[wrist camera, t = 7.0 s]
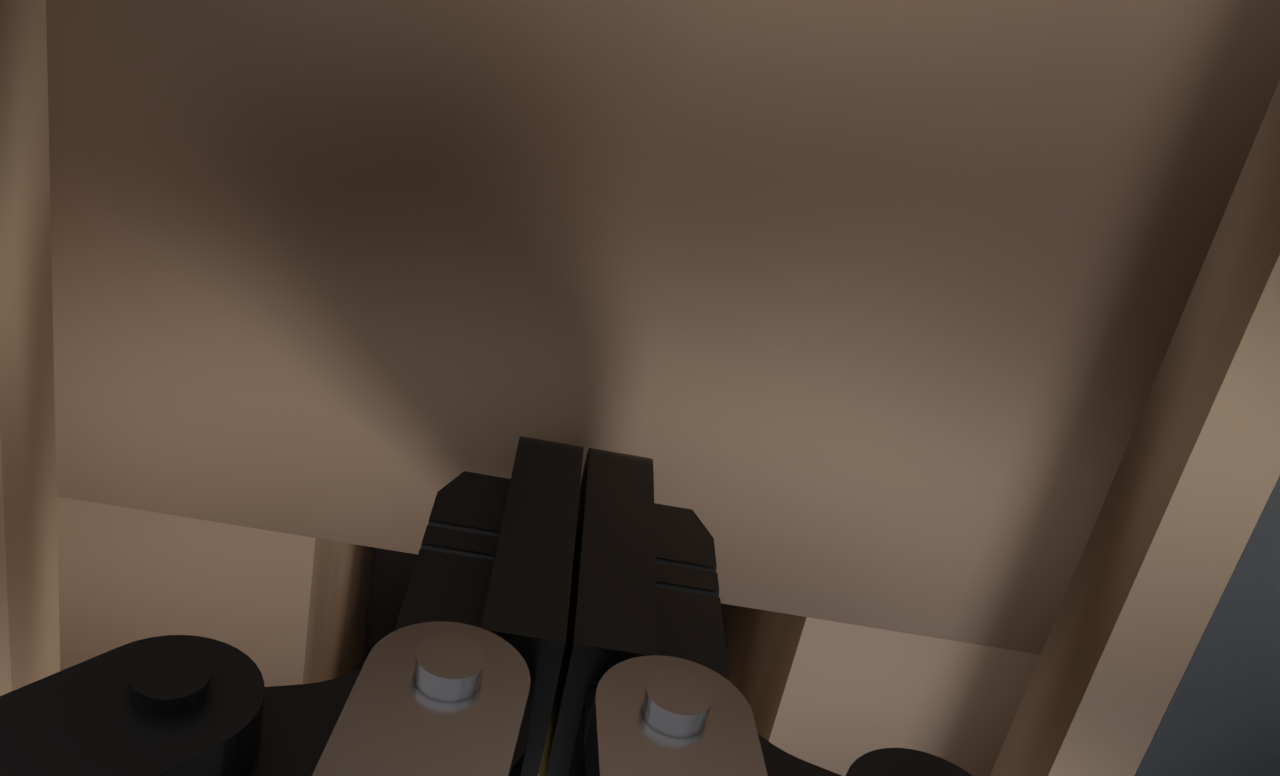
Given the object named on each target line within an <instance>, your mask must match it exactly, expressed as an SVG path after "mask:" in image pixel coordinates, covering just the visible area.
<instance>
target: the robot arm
mask: <svg viewBox="0 0 1280 776" xmlns="http://www.w3.org/2000/svg"><path fill="white" fill-rule="evenodd" d="M583 450H584V447H581V446H575V445H570V444H564V443H558V442H552V441H547V440H541V439H535V438H529V437H523V436H520V437H519V442H518V447H517V452H516V457H515V461H514V466H513V471H512V476H511V479H508V478H502V477H496V476H490V475H484V474H479V473H473V472H467V471H464V472H462V473H461V474H460V475H459V476H457V477H456V478H455V479H453V480H452V481H451V482H450V483H448V484H447V485H446V486H445V487H443V488H442V489H441V490H439V491H438V492H437V495H436V498H435V502H434V505H433V508H432V511H431V514H430V518H429V522H428V525H427V527H426V530H425V533H424V537H423V540H422V543H421V549H419V553H418V556H417V559H416V562H415V565H414V569H413V572H412V575H411V578H410V581H409V585H408V588H407V591H406V594H405V597H404V600H403V604H402V607H401V610H400V613H399V616H398V620H397V623H396V626H395V629H394V632H392V633H390V634H388V635H387V636H385V637H384V638H382V639H381V640H380V641H379V642H378V643H377V644H376V645H375V646H374V647H373V648H372V650H371V651H370V653H369V655H368V656H367V658H366V660H365V663H364V665H363V667H362V668H360V669H358V670H356V671H354V672H352V673H350V674H347V675H345V676H342V677H339V678H336V679H332V680H327V681H323V682H317V683H309V684H299V685H286V686H272V687H264V680H263V676H262V673H261V671H260V670H259V668H258V667H257V665H256V664H255V662H254V661H253V660H252V659H251V658H250V657H249V656H248V655H246V654H245V653H243V652H242V651H240V650H239V649H237V648H235V647H233V646H231V645H229V644H227V643H224V642H221V641H218V640H215V639H211V638H206V637H200V636H191V635H165V636H157V637H150V638H146V639H142V640H137V641H134V642H131V643H128V644H125V645H123V646H120V647H117V648H115V649H113V650H110V651H108V652H105V653H103V654H101V655H98V656H96V657H93V658H91V659H88V660H86V661H84V662H81V663H79V664H76V665H74V666H72V667H69V668H67V669H64V670H62V671H60V672H57V673H55V674H52V675H50V676H48V677H45V678H43V679H40V680H38V681H35V682H33V683H31V684H28V685H26V686H23V687H21V688H19V689H16V690H14V691H11V692H9V693H7V694H4V695H2V696H0V776H538V774H539V776H841V775H839V774H836V773H834V772H831V771H829V770H826V769H824V768H821V767H819V766H816V765H814V764H811V763H809V762H806V761H804V760H802V759H799V758H797V757H795V756H793V755H791V754H788V753H787V752H785V751H783V750H781V749H780V748H778V747H776V746H775V745H773V744H772V743H770V742H769V741H768V740H766V739H765V738H763V737H762V736H761V735H760V734H759V733H758V732H757V728H756V724H755V720H754V716H753V713H752V710H751V707H750V705H749V703H748V702H747V700H746V698H745V697H744V696H743V694H742V693H741V692H740V691H739V690H738V689H737V688H736V687H735V686H734V685H733V684H732V683H731V682H730V681H729V674H728V665H727V656H726V647H725V637H724V628H723V619H722V610H721V601H720V597H719V582H718V573H716V569H717V564H716V555H715V546H714V538H713V537H712V535H711V534H710V533H709V531H708V530H707V528H706V527H705V526H704V524H703V523H702V522H701V520H700V519H699V518H698V516H697V515H696V514H695V512H694V511H693V510H692V509H686V508H680V507H674V506H668V505H663V504H657V503H654V471H653V459H652V458H646V457H640V456H635V455H629V454H623V453H617V452H611V451H606V450H600V449H594V448H589V449H588V452H587V456H586V460H585V465H584V469H583V474H582V479H581V472H582V461H583ZM580 483H581V484H580ZM846 776H972V775H971V774H969V773H968V772H967V771H965V770H963V769H962V768H960V767H958V766H957V765H955V764H953V763H951V762H949V761H947V760H945V759H942V758H940V757H938V756H935V755H932V754H929V753H926V752H922V751H918V750H914V749H906V748H883V749H877V750H874V751H871V752H868V753H865V754H864V755H862V756H861V757H859V758H857V759H856V760H855V761H854V762H853V764H852V765H851V766H850V768H849V770H848V772H847V773H846Z"/></svg>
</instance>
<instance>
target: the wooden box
mask: <svg viewBox="0 0 1280 776" xmlns="http://www.w3.org/2000/svg"><path fill="white" fill-rule="evenodd" d="M520 436H523V437H529V438H535V439H541V440H547V441H552V442H558V443H564V444H570V445H575V446H581V447H584V450H583V461H582V472H581V479H582V474H583V469H584V465H585V460H586V456H587V452H588V449H589V448H594V449H600V450H606V451H611V452H617V453H623V454H629V455H635V456H640V457H646V458H652V459H653V471H654V503H657V504H663V505H668V506H674V507H680V508H686V509H692V510H693V511H694V512H695V514H696V515H697V516H698V518H699V519H700V520H701V522H702V523H703V524H704V526H705V527H706V528H707V530H708V531H709V533H710V534H711V535H712V537H713V538H714V546H715V555H716V564H717V569H716V573H718V582H719V597H720V601H721V610H722V619H723V628H724V637H725V647H726V656H727V665H728V674H729V681H730V682H731V683H732V684H733V685H734V686H735V687H736V688H737V689H738V690H739V691H740V692H741V693H742V694H743V696H744V697H745V698H746V700H747V702H748V703H749V705H750V707H751V710H752V713H753V716H754V720H755V724H756V728H757V732H758V733H759V734H760V735H761V736H762V737H763V738H765V739H766V740H768V741H769V742H770V743H772V744H773V745H775V746H776V747H778V748H780V749H781V750H783V751H785V752H787V753H788V754H791V755H793V756H795V757H797V758H799V759H802V760H804V761H806V762H809V763H811V764H814V765H816V766H819V767H821V768H824V769H826V770H829V771H831V772H834V773H836V774H839V775H841V776H846V773H847V772H848V770H849V768H850V766H851V765H852V764H853V762H854V761H855V760H856V759H857V758H859V757H861V756H862V755H864V754H865V753H868V752H871V751H874V750H877V749H883V748H906V749H914V750H918V751H922V752H926V753H929V754H932V755H935V756H938V757H940V758H942V759H945V760H947V761H949V762H951V763H953V764H955V765H957V766H958V767H960V768H962V769H963V770H965V771H967V772H968V773H969V774H971V775H972V776H1134V775H1135V773H1136V771H1137V769H1138V767H1139V765H1140V763H1141V761H1142V759H1143V757H1144V755H1145V753H1146V751H1147V748H1148V746H1149V744H1150V742H1151V740H1152V738H1153V736H1154V734H1155V732H1156V730H1157V728H1158V726H1159V724H1160V722H1161V720H1162V717H1163V715H1164V713H1165V711H1166V709H1167V707H1168V705H1169V703H1170V701H1171V699H1172V697H1173V695H1174V693H1175V691H1176V689H1177V687H1178V684H1179V682H1180V680H1181V678H1182V676H1183V674H1184V672H1185V670H1186V668H1187V666H1188V664H1189V662H1190V660H1191V658H1192V656H1193V654H1194V651H1195V649H1196V647H1197V645H1198V643H1199V641H1200V639H1201V637H1202V635H1203V633H1204V631H1205V629H1206V627H1207V625H1208V623H1209V620H1210V618H1211V616H1212V614H1213V612H1214V610H1215V608H1216V606H1217V604H1218V602H1219V600H1220V598H1221V596H1222V594H1223V592H1224V590H1225V587H1226V585H1227V583H1228V581H1229V579H1230V577H1231V575H1232V573H1233V571H1234V569H1235V567H1236V565H1237V563H1238V561H1239V559H1240V557H1241V554H1242V552H1243V550H1244V548H1245V546H1246V544H1247V542H1248V540H1249V538H1250V536H1251V534H1252V532H1253V530H1254V528H1255V526H1256V524H1257V521H1258V519H1259V517H1260V515H1261V513H1262V511H1263V509H1264V507H1265V505H1266V503H1267V501H1268V499H1269V497H1270V495H1271V493H1272V490H1273V488H1274V486H1275V484H1276V482H1277V480H1278V478H1279V476H1280V0H0V696H2V695H4V694H7V693H9V692H11V691H14V690H16V689H19V688H21V687H23V686H26V685H28V684H31V683H33V682H35V681H38V680H40V679H43V678H45V677H48V676H50V675H52V674H55V673H57V672H60V671H62V670H64V669H67V668H69V667H72V666H74V665H76V664H79V663H81V662H84V661H86V660H88V659H91V658H93V657H96V656H98V655H101V654H103V653H105V652H108V651H110V650H113V649H115V648H117V647H120V646H123V645H125V644H128V643H131V642H134V641H137V640H142V639H146V638H150V637H157V636H165V635H191V636H200V637H206V638H211V639H215V640H218V641H221V642H224V643H227V644H229V645H231V646H233V647H235V648H237V649H239V650H240V651H242V652H243V653H245V654H246V655H248V656H249V657H250V658H251V659H252V660H253V661H254V662H255V664H256V665H257V667H258V668H259V670H260V671H261V673H262V676H263V680H264V687H272V686H286V685H299V684H309V683H317V682H323V681H327V680H332V679H336V678H339V677H342V676H345V675H347V674H350V673H352V672H354V671H356V670H358V669H360V668H362V660H363V652H364V643H365V634H366V625H367V617H368V608H369V599H370V590H371V581H372V573H373V564H374V555H375V548H380V549H386V550H393V551H399V552H405V553H411V554H418V553H419V549H421V543H422V540H423V537H424V533H425V530H426V527H427V525H428V522H429V518H430V514H431V511H432V508H433V505H434V502H435V498H436V495H437V492H438V491H439V490H441V489H442V488H443V487H445V486H446V485H447V484H448V483H450V482H451V481H452V480H453V479H455V478H456V477H457V476H459V475H460V474H461V473H462V472H464V471H467V472H473V473H479V474H484V475H490V476H496V477H502V478H508V479H511V476H512V471H513V466H514V461H515V457H516V452H517V447H518V442H519V437H520ZM580 484H581V483H580Z"/></svg>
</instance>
